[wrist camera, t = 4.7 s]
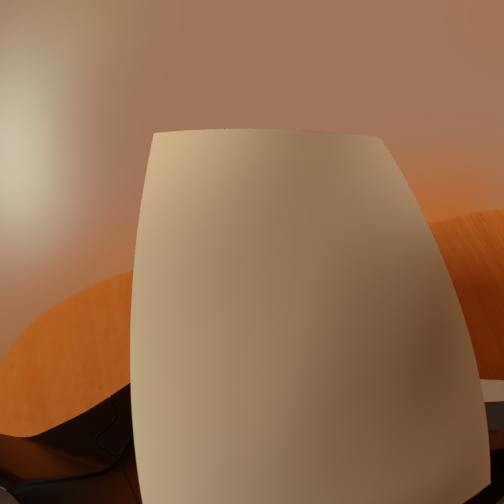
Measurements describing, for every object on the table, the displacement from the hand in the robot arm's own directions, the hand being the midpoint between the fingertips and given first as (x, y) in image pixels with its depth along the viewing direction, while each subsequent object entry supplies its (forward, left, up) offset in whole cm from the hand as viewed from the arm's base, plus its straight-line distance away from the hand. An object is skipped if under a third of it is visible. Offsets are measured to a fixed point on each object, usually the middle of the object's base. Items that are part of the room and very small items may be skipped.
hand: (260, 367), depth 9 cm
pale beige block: (0, 0, -7) cm, 7 cm away
